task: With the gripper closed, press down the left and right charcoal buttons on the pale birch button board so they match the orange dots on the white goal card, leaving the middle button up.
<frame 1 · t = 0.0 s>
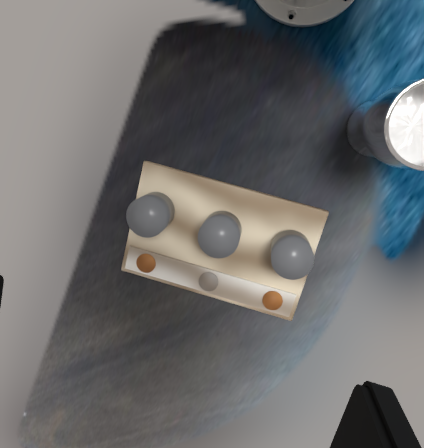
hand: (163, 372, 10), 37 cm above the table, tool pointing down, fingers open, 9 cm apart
button middle: (220, 233, 43), point 4 cm above the table, slide at 0.0 cm
button board: (220, 240, 47), on the table
beer glass: (374, 128, 42), on the table
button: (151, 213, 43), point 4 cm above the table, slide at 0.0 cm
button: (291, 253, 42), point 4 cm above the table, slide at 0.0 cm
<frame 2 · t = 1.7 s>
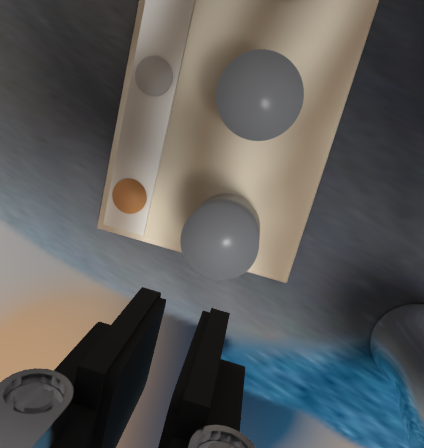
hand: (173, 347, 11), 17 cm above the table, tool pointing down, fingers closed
button middle: (259, 99, 21), point 4 cm above the table, slide at 0.0 cm
button board: (231, 97, 26), on the table
beer glass: (412, 341, 28), on the table
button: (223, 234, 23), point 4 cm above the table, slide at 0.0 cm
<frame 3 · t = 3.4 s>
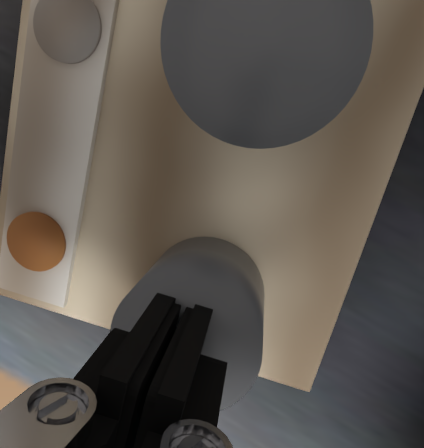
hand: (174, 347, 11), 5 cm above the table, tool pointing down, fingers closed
button middle: (264, 59, 10), point 4 cm above the table, slide at 0.0 cm
button board: (212, 68, 14), on the table
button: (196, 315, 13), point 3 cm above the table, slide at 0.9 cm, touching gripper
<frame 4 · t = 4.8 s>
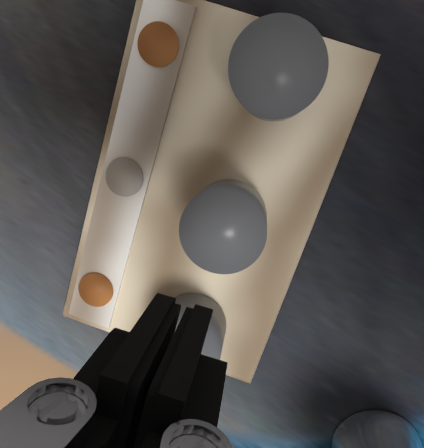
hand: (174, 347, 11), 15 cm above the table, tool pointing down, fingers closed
button middle: (226, 223, 21), point 4 cm above the table, slide at 0.0 cm
button board: (203, 199, 25), on the table
beer glass: (374, 443, 28), on the table
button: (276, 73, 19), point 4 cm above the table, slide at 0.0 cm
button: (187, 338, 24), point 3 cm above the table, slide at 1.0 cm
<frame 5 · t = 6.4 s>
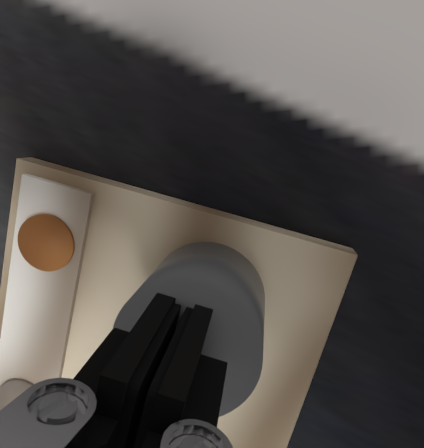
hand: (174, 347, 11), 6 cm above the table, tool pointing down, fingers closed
button board: (133, 416, 19), on the table
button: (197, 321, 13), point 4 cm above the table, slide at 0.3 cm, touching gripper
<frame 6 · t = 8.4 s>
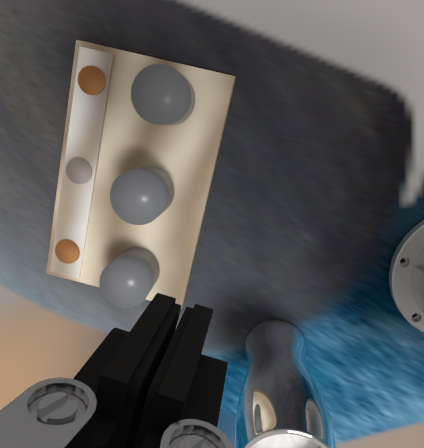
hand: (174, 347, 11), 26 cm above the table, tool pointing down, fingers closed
button middle: (143, 193, 32), point 4 cm above the table, slide at 0.0 cm
button board: (135, 181, 37), on the table
beer glass: (275, 345, 39), on the table
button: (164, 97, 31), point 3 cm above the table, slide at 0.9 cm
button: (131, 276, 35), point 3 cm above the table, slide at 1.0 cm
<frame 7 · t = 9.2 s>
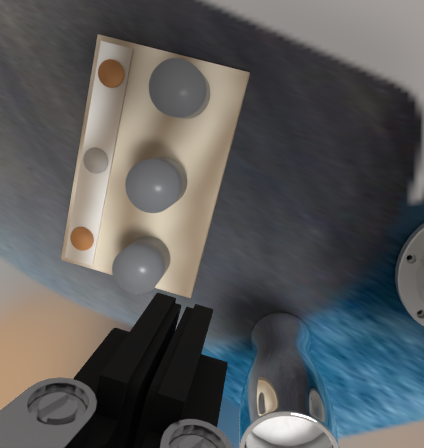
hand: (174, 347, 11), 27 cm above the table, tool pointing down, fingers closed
button middle: (157, 183, 34), point 4 cm above the table, slide at 0.0 cm
button board: (149, 173, 38), on the table
beer glass: (280, 338, 40), on the table
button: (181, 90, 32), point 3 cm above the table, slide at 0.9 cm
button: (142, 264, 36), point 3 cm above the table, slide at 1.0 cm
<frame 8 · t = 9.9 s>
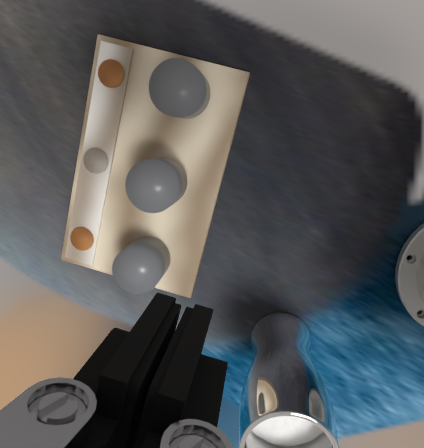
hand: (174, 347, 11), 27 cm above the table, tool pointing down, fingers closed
button middle: (157, 183, 34), point 4 cm above the table, slide at 0.0 cm
button board: (149, 173, 38), on the table
beer glass: (280, 338, 40), on the table
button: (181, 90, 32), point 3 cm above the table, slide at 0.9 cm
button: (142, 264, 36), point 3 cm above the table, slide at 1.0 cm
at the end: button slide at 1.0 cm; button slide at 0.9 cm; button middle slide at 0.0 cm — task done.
